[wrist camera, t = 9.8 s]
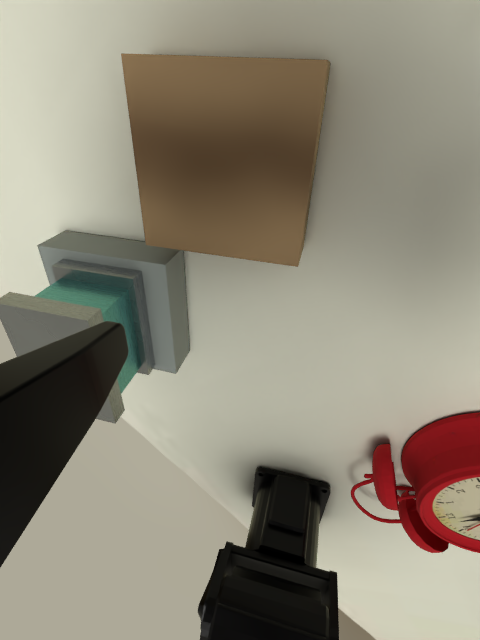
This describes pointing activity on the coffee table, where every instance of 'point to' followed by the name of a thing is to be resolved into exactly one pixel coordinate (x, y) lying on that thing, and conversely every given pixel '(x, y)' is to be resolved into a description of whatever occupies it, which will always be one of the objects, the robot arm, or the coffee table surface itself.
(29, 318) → the housing
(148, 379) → the coffee table surface
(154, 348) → the stand
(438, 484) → the alarm clock
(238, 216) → the stand
